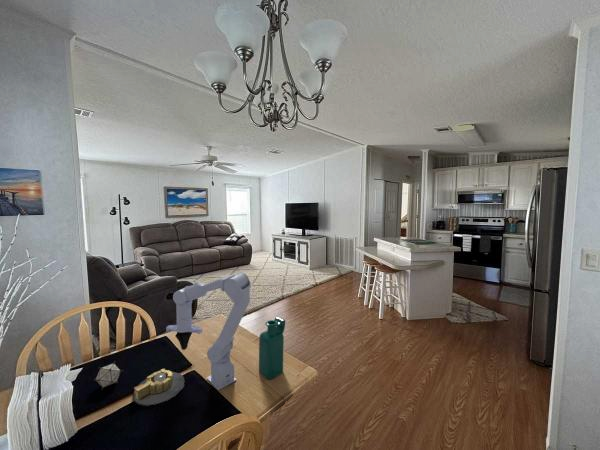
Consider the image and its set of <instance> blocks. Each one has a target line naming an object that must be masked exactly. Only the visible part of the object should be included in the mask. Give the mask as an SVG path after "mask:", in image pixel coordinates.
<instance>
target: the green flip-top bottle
mask: <svg viewBox="0 0 600 450" xmlns="http://www.w3.org/2000/svg"><path fill="white" fill-rule="evenodd" d="M265 326H266V327H267V329H266V330H265V331H263V332H261V333H260V335H259V336H258V372H259V374H260V375H262V376H263V377H264V378H265V379H267V380H273V379H275V378H276V377H278V376H280V375H282V374H283V372H284V349H285V348H284V347H285V346H284V343H285V341H284V338H285V336H284V332H285V328H286V320H285V319H283V318H282V317H279V316H275V317H274V319H273V320H272V319H270V320H267V321H266V322H265Z"/></svg>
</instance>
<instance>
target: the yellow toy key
mask: <svg viewBox="0 0 600 450" xmlns="http://www.w3.org/2000/svg"><path fill="white" fill-rule="evenodd" d="M172 372H173V371H171V370H169V369H168V370H167V369H166V368H162V369H160V370H158V371H155V372H153V373H151V374H150V375H148V376H147V377H146V379H147V382H146V383H145V384H144V385H142V386H140V387H138V388H136V389H135V397H136V398H137V399H140V398H142V397H144V396H145V395H147V394H149V393H152V394H156V393H161V392H163V391H165V390H167V389H169V388H170V387H171V385H172V384H173V373H172ZM159 373H165V374H166V380H164V381H162V382H159V381H155V383H154V376H155V375H157V374H159Z"/></svg>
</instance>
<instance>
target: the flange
mask: <svg viewBox="0 0 600 450" xmlns="http://www.w3.org/2000/svg"><path fill="white" fill-rule="evenodd" d="M171 372H172V373H173V384H172V385H171V387H170V388H169V389H167V390H165V391H163V392H161V393H156V394H152V393H149V394H147V395H145V396H144V397H142V398H140V399H137V398H136V397H135V389H136V388H138V387H140V386H142V385H144V384H145V383H146V382H147V378H145V379H144V380H143V381H141V382H140V383H139V384H138V385H137V386H135V387H133V389H134V391H133V397H132V398H133V401H134V403H135V404H137V405H138V406H141V405H142V406H141V407H151V406H150V405H155V406H157V405H156V404H159V403H162V402H165V401H167V402H169V401H171V400H172V399H171V398H173V397H174V398H176V397H177V396H178V395H179V394H180V393H181V392H182V391H181V390H183V389H184V387H185V384H184V383H185V377H184V376H183V374H181V373H179V372H175V371H171ZM164 380H166V374H165V373H159V374H157V375H155V376H154V383H155V381H159V382H162V381H164ZM180 391H181V392H180ZM179 392H180V393H179ZM178 393H179V394H178ZM177 394H178V395H177ZM176 395H177V396H176ZM174 398H173V399H174ZM170 399H171V400H170ZM168 400H169V401H168ZM165 403H166V402H165ZM162 404H163V403H162ZM159 405H160V404H159Z"/></svg>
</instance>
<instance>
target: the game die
mask: <svg viewBox="0 0 600 450" xmlns="http://www.w3.org/2000/svg"><path fill="white" fill-rule="evenodd" d="M98 370H99V371H98V372H97V376H96V377H95V378H94V379H93V381H96V382H97V383H98V385H99V386H100V387H101V391H103V390H104V388H105V387H108V386H110V385H113V384H119V381H118V379H119V376H120V374H121V373H122V372H124V369H120V368H119V366H117V365H116V360H114V361H113V362H112V363H110V364H107V365H105V366H103V367H100V366H98Z"/></svg>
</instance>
